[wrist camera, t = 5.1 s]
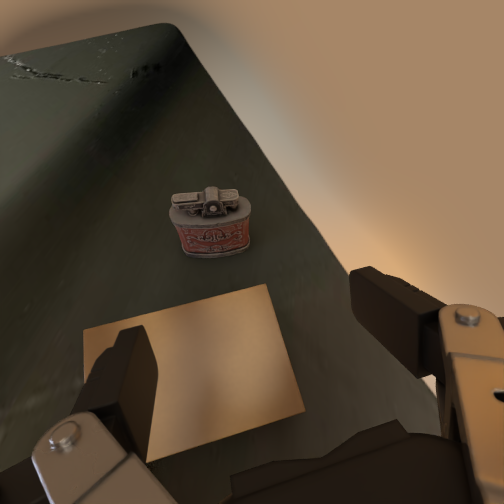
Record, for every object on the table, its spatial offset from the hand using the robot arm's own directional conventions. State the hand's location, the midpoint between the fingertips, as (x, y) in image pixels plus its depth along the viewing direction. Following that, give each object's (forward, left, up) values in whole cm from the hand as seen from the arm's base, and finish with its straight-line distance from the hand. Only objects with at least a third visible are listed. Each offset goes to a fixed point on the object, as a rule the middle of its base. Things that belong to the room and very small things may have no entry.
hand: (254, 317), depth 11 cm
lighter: (0, +14, -21) cm, 25 cm away
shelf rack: (-5, 0, -21) cm, 21 cm away
